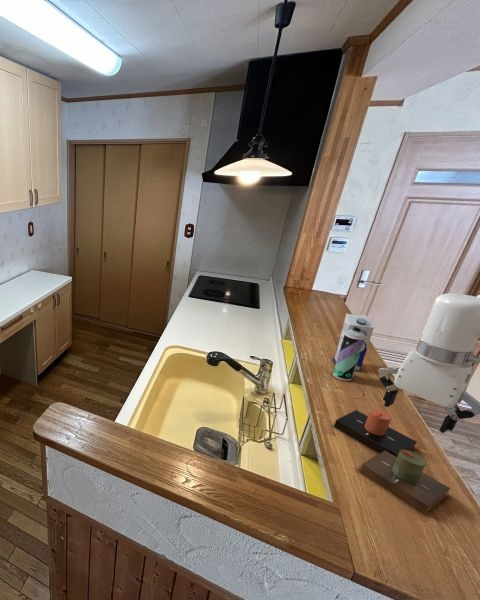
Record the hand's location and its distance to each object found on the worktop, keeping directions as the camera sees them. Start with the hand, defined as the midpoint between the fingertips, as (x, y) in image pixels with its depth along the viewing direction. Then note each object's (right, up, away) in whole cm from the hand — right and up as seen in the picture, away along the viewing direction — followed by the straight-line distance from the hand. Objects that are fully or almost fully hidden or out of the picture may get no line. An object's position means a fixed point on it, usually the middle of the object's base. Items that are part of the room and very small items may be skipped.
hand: (414, 416), depth 74 cm
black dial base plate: (+4, -11, +16) cm, 20 cm away
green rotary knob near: (-1, -14, +1) cm, 14 cm away
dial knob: (+4, -9, +15) cm, 18 cm away
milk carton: (+26, +2, +51) cm, 57 cm away
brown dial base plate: (-1, -17, +2) cm, 17 cm away
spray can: (+18, -1, +43) cm, 47 cm away
